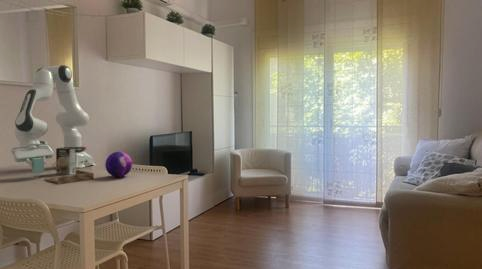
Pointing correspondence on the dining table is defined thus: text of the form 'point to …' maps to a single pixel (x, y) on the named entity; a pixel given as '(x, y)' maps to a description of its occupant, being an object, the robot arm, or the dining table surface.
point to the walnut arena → (72, 177)
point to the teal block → (38, 165)
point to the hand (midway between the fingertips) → (38, 164)
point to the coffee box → (65, 161)
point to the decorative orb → (118, 164)
